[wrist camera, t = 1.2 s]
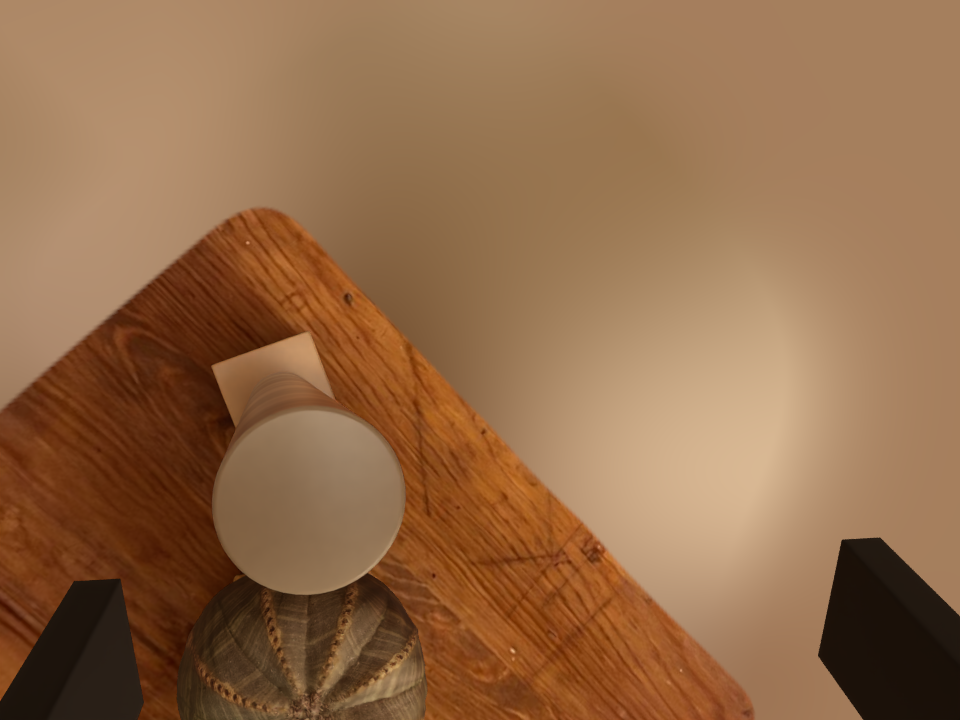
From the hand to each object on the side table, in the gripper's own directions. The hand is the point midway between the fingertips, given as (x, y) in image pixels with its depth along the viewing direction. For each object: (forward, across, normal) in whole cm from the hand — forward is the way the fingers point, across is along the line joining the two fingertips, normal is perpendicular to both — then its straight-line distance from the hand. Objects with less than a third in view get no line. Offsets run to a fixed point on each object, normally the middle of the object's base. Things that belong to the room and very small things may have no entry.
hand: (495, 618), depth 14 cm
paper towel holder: (+28, -8, -8) cm, 30 cm away
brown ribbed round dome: (+24, -8, -19) cm, 32 cm away
